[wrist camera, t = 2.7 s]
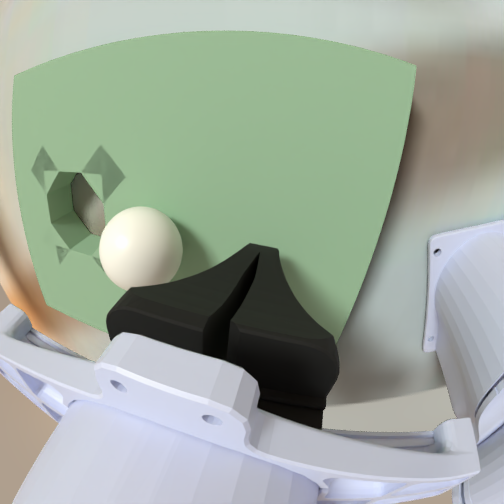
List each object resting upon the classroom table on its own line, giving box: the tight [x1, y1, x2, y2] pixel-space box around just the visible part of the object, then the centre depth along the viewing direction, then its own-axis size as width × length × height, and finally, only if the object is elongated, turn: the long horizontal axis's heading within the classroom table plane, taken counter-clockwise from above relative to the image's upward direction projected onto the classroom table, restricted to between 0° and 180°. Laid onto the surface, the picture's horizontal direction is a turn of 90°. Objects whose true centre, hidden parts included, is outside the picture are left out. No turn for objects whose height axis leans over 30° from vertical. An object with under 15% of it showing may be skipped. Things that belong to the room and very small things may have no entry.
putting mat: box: [12, 31, 416, 344], centre depth 15 cm, size 24×20×2 cm
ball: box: [99, 206, 183, 291], centre depth 12 cm, size 4×4×4 cm
